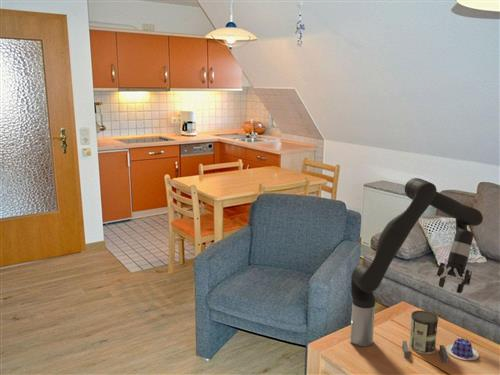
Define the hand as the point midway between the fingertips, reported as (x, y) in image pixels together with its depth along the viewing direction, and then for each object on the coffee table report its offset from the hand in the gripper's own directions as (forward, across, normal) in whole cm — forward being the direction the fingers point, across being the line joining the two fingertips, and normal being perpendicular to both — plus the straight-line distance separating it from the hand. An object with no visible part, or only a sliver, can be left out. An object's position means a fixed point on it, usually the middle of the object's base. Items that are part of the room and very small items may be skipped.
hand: (449, 290), depth 190 cm
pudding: (+23, +10, +3) cm, 26 cm away
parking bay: (+28, +4, -11) cm, 30 cm away
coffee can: (+26, 0, -8) cm, 27 cm away
